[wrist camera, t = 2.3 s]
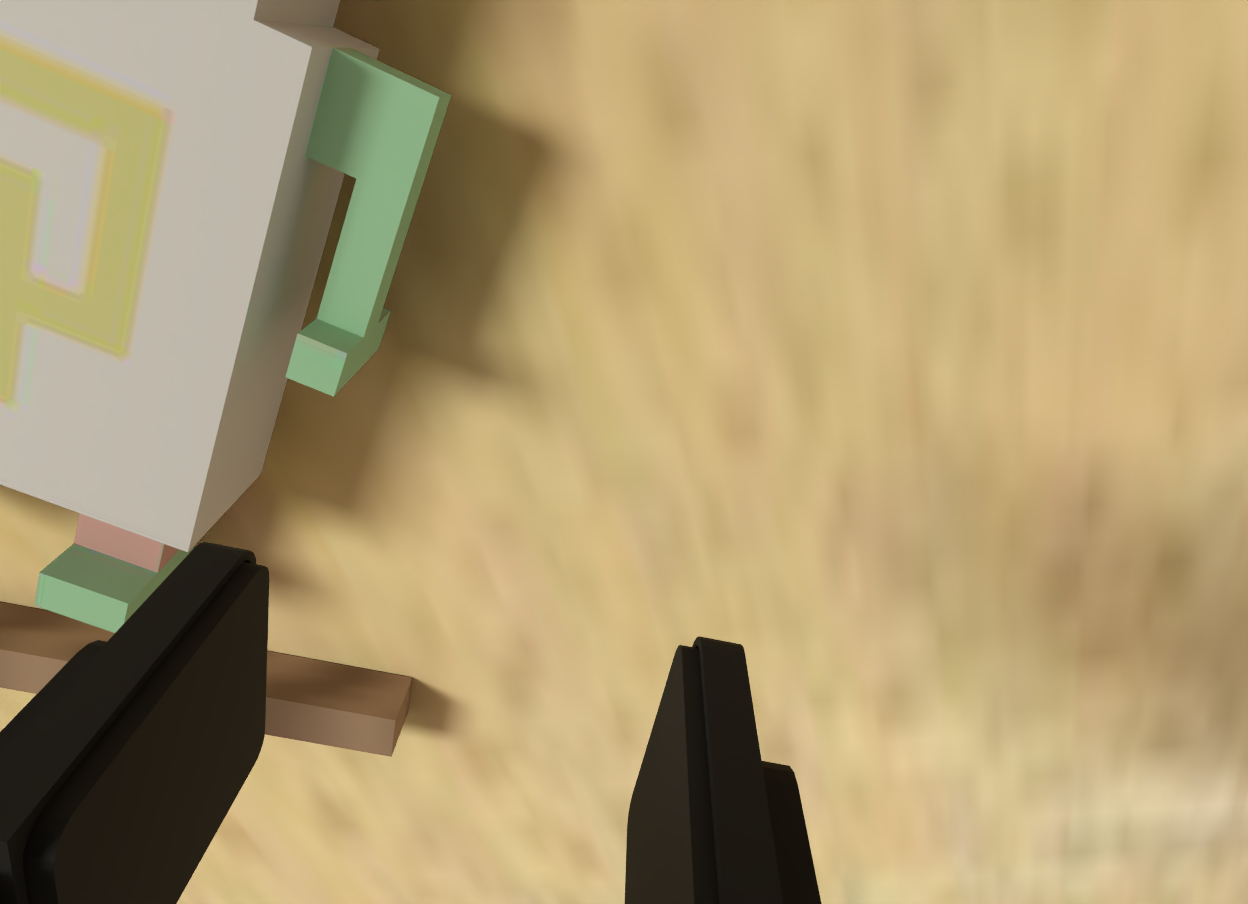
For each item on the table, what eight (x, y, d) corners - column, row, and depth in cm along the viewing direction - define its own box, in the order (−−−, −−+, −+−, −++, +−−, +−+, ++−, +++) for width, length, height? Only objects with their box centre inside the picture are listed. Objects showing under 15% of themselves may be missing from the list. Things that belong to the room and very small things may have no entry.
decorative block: (-590, -745, 14) (501, -171, 17) (-229, -512, 20) (539, -114, 23) (-421, 469, 25) (237, 692, 28) (-217, 390, 30) (309, 582, 33)
